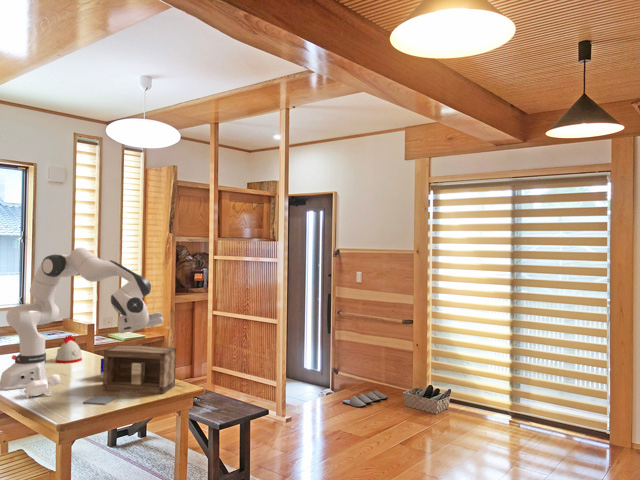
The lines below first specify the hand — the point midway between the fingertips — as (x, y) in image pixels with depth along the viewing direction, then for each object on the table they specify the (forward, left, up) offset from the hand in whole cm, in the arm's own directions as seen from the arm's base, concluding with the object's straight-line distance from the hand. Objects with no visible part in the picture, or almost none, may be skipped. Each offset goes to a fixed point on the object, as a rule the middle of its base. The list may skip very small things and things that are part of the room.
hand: (142, 328), depth 250 cm
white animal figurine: (-37, +21, -29) cm, 52 cm away
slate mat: (-23, -5, -29) cm, 37 cm away
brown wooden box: (0, +1, -29) cm, 29 cm away
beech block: (-2, 0, -26) cm, 26 cm away
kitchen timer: (0, +81, -29) cm, 86 cm away
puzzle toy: (+1, +28, -29) cm, 41 cm away
